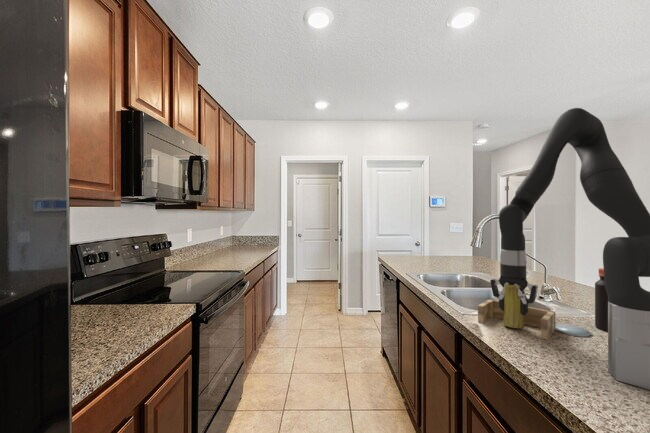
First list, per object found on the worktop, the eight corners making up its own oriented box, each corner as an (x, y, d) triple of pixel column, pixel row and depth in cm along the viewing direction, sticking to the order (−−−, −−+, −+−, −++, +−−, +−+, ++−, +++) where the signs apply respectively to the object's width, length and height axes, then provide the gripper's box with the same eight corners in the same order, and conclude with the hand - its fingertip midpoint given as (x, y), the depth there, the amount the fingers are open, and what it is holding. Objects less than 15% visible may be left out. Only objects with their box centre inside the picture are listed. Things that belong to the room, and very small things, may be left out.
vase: (503, 326, 98) (503, 284, 98) (502, 321, 104) (501, 281, 104) (525, 329, 96) (525, 286, 96) (522, 323, 101) (522, 282, 101)
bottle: (603, 324, 102) (602, 267, 102) (628, 331, 95) (628, 270, 95) (590, 326, 100) (589, 268, 100) (614, 334, 93) (614, 272, 93)
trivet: (588, 339, 90) (588, 337, 90) (551, 330, 97) (551, 329, 97) (592, 331, 96) (592, 329, 96) (557, 323, 103) (557, 322, 103)
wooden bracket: (547, 339, 90) (547, 320, 90) (478, 322, 105) (477, 305, 105) (555, 329, 97) (555, 311, 97) (489, 314, 113) (489, 299, 113)
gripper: (486, 261, 103) (486, 309, 103) (535, 266, 92) (535, 320, 92) (493, 259, 108) (494, 305, 108) (541, 264, 97) (541, 314, 97)
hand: (513, 312), depth 100 cm, fingers closed on vase, 5 cm apart
